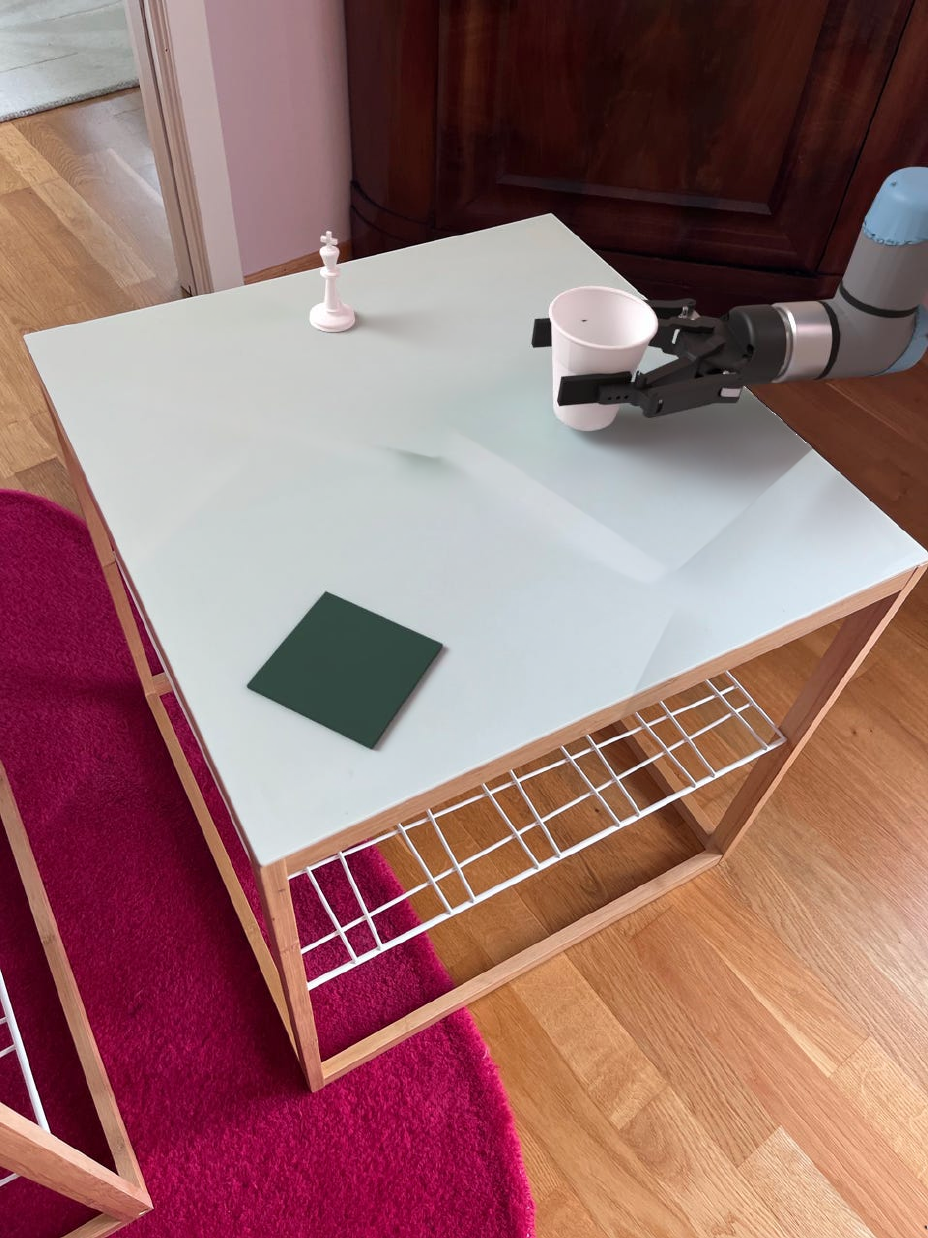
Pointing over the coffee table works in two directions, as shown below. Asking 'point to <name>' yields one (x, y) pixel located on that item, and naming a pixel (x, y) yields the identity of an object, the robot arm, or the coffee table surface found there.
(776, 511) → the coffee table surface
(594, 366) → the cup
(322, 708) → the mat
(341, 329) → the chess piece
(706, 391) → the robot arm
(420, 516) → the coffee table surface
